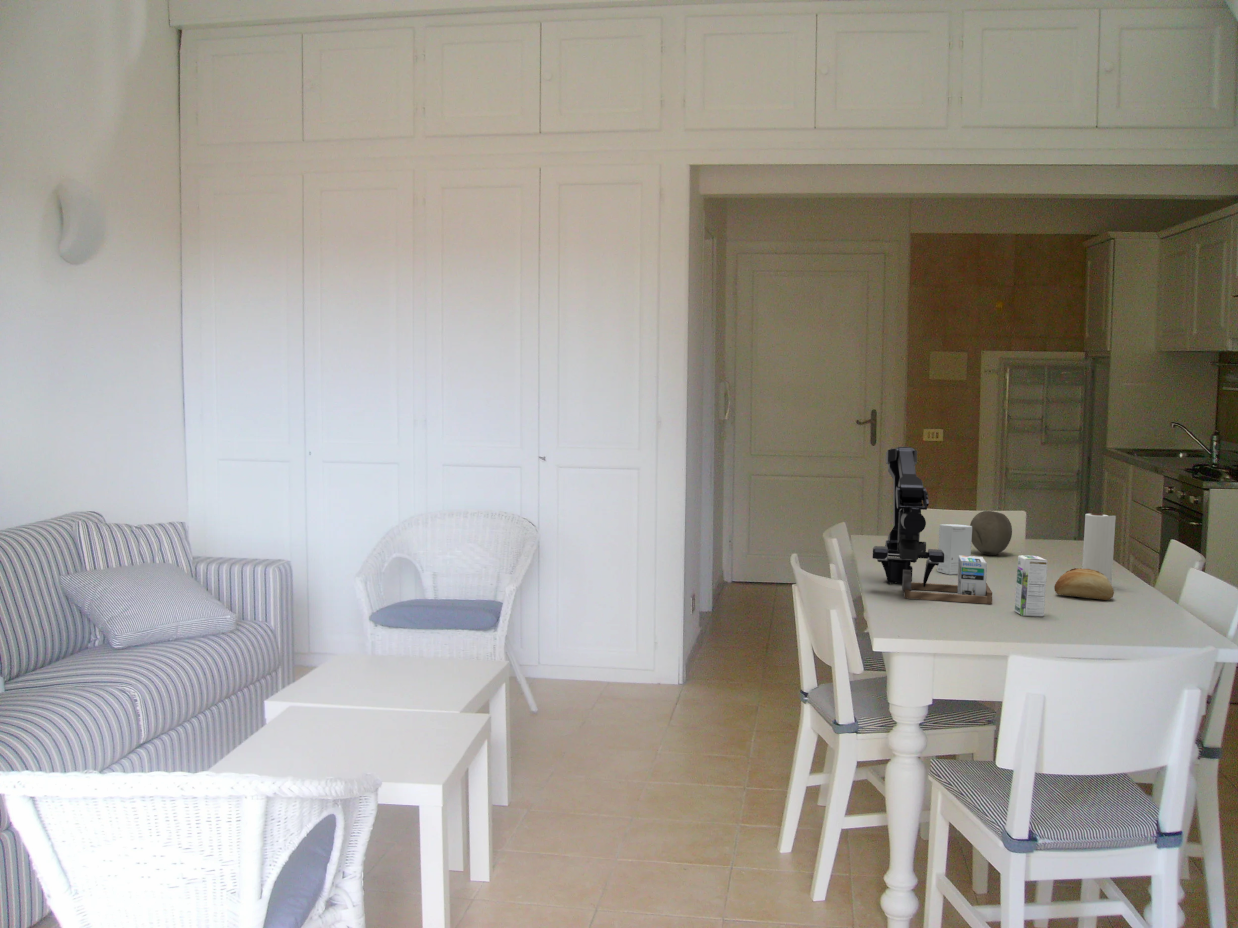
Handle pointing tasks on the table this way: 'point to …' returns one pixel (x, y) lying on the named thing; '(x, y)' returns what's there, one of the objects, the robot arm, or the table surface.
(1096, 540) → the paper towel roll
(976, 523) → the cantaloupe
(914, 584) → the brown rectangular frame
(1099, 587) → the bread roll
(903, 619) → the table surface
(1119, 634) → the table surface
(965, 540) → the skincare box
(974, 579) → the light bulb box
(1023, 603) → the syrup box
